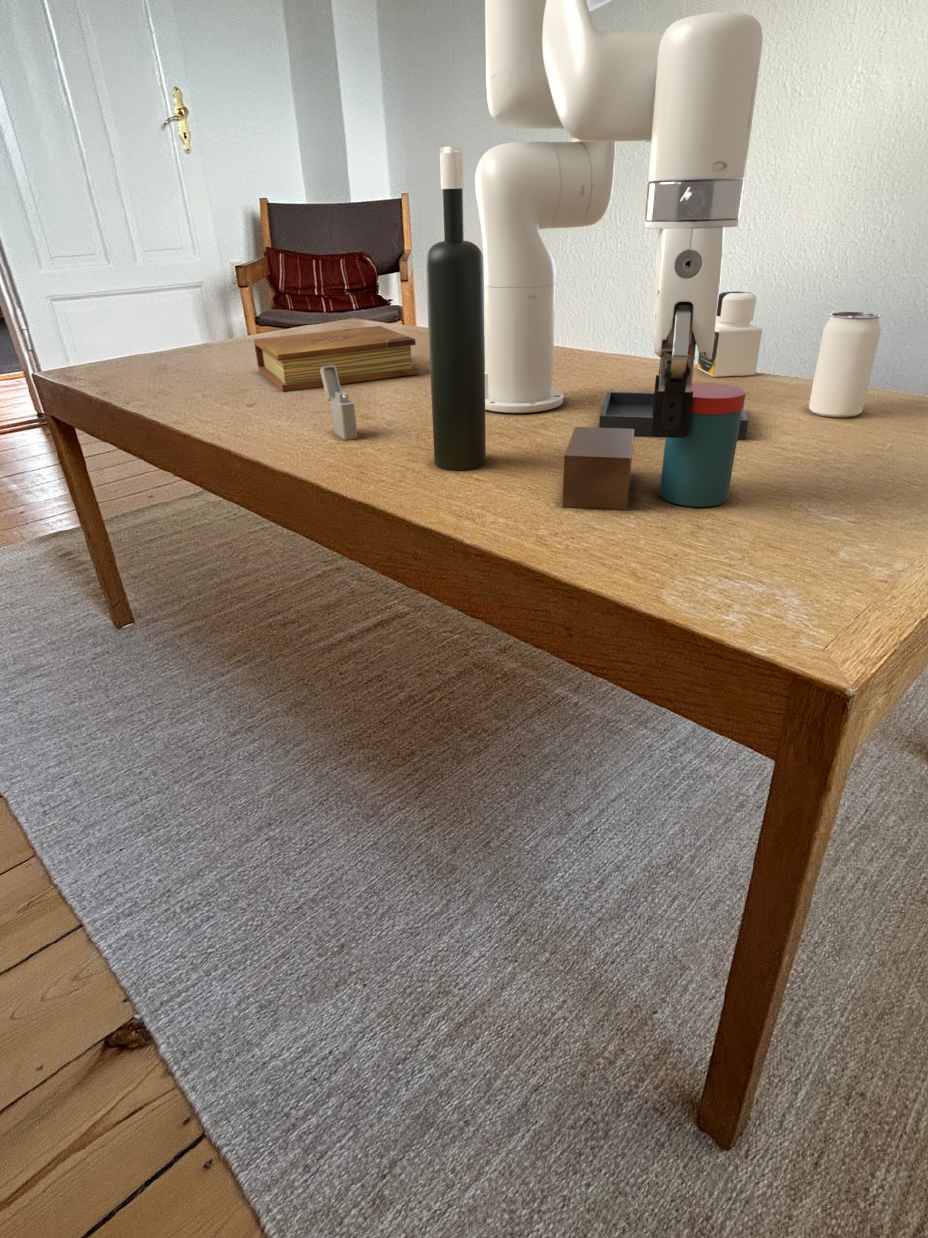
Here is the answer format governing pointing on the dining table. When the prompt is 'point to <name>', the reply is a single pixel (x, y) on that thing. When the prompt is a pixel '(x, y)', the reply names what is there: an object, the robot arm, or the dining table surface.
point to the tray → (639, 413)
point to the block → (598, 468)
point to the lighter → (339, 404)
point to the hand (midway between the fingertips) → (669, 425)
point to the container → (704, 448)
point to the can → (845, 364)
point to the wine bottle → (456, 330)
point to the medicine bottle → (733, 337)
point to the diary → (334, 356)
